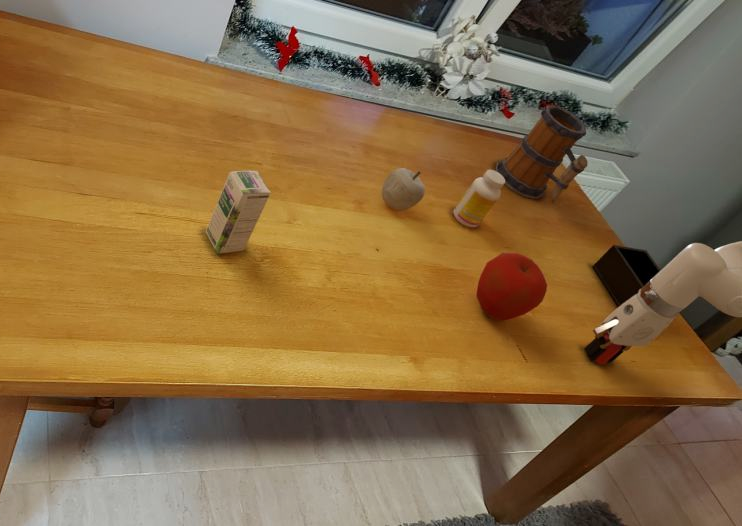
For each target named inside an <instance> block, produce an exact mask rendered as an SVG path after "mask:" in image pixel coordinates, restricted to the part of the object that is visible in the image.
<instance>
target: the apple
mask: <svg viewBox="0 0 742 526" xmlns="http://www.w3.org/2000/svg"><path fill="white" fill-rule="evenodd" d="M547 289H548V283H547V280H546V277H545V276H544V273H543V271H542V270H541V268H540V267H539V265H538V264H537V263H536V262H535V261H534V260H533V259H531V258H530V257H527V256H526V255H523V254H520V253H518V252H517V253H515V252H501V253H499V254H498V255H496V256H495V257H493V258H492V259H490V260H488V261H487V262H486V264H485V266H484V268H483V270H482V271H481V274H480V275H479V279H478V283H477V290H476V299H477V301H478V304H479V306H480V308H481V310H482V311H483V312H484V313H485V314H486V315H487V316H489V317H490V318H493V319H495V320H499V321H503V322H505V321H510V320H513V319H517V318H518V317H522V316H524V315H526V314H528V313H530V312H531V311H533V310H534V309H536V308H537V307H539V306H540V304H542V302H543V301H544V299H545V296H546V293H547Z"/></svg>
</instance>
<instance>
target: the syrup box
mask: <svg viewBox="0 0 742 526" xmlns="http://www.w3.org/2000/svg"><path fill="white" fill-rule="evenodd" d="M270 196H271V190H270V189H269V188H268V186H267V185H266V183H265V181H264V179H263V178H262V176H261V175H260V173H259V172H258V170H234V171H230V172H229V173H228V176H227V178H226V180H225V183H224V185H223V188H222V190H221V193H220V195H219V198H218V200H217V203H216V205H215V207H214V209H213V212H212V214H211V217H210V220H209V222H208V224H207V226H206V229H205V234H206V235H207V237H208V240H209V242H210V244H211V246H212V247H213V249H214V251H215V252H216V254H218V255H220V254H227V253H236V252H242V251H244V250H245V249H246V246H247V244H248V242H249V240H250V238H251V236H252V233H253V232H254V230H255V229H256V225H257V223H258V221H259V219H260V217H261V214H262V213H263V212H264V211H263V210H264V208H265V206H266V204H267V202H268V200H269V198H270Z"/></svg>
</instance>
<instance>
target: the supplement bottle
mask: <svg viewBox="0 0 742 526" xmlns="http://www.w3.org/2000/svg"><path fill="white" fill-rule="evenodd" d="M504 183H505V179H504V177H503V176H502V175H501V174H500V173H498V172H496V171H495V170H494V169H487V170H486V171H485V172H484V174H483V176H481V177H480V176H479V177H477V178H476V179H474V180H473V182H472V183H471V185H470V186H469V187H468V189H467V190H466V191H465V193H464V195H462V197H461V199H459V201H458V202H457V204H456V205H455V207H454V209H453V215H454V218H455V219H456V220H457V221H458V222H459V223H460V224H461V225H463V226H465V227H467V228H476V227H478V226H479V225H480V224H481V223H482V221H483V220H484V219H485V217H486V216H487V215H488V213H489V212H490V210H491V209H493V207H494V206H495V204H496V203H497V201H498V200H499V199H500V198H501V194H502V191H501V188H502V187H503V186H504V185H505V184H504Z"/></svg>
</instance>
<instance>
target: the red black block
mask: <svg viewBox="0 0 742 526" xmlns="http://www.w3.org/2000/svg"><path fill="white" fill-rule="evenodd" d="M604 337H605V341H607V340H608V339H609V337H608V336H607V334H606V335H605V336H604ZM605 349H606V351H605V352H604V353H602V354H601V355H600V356H599V357H598V358H597V359H596V360H595V361H594V362H595V363H596V364H598V365H605V364H606V363H607V362H608V360H609V359H610V358H612V357H613V356H614V355H615V354H616V353H617V352H619V351H620V350H621V349H622V345H617V344H613V343H612V344H611V345H609V346H608V347H606V348H605Z"/></svg>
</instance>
